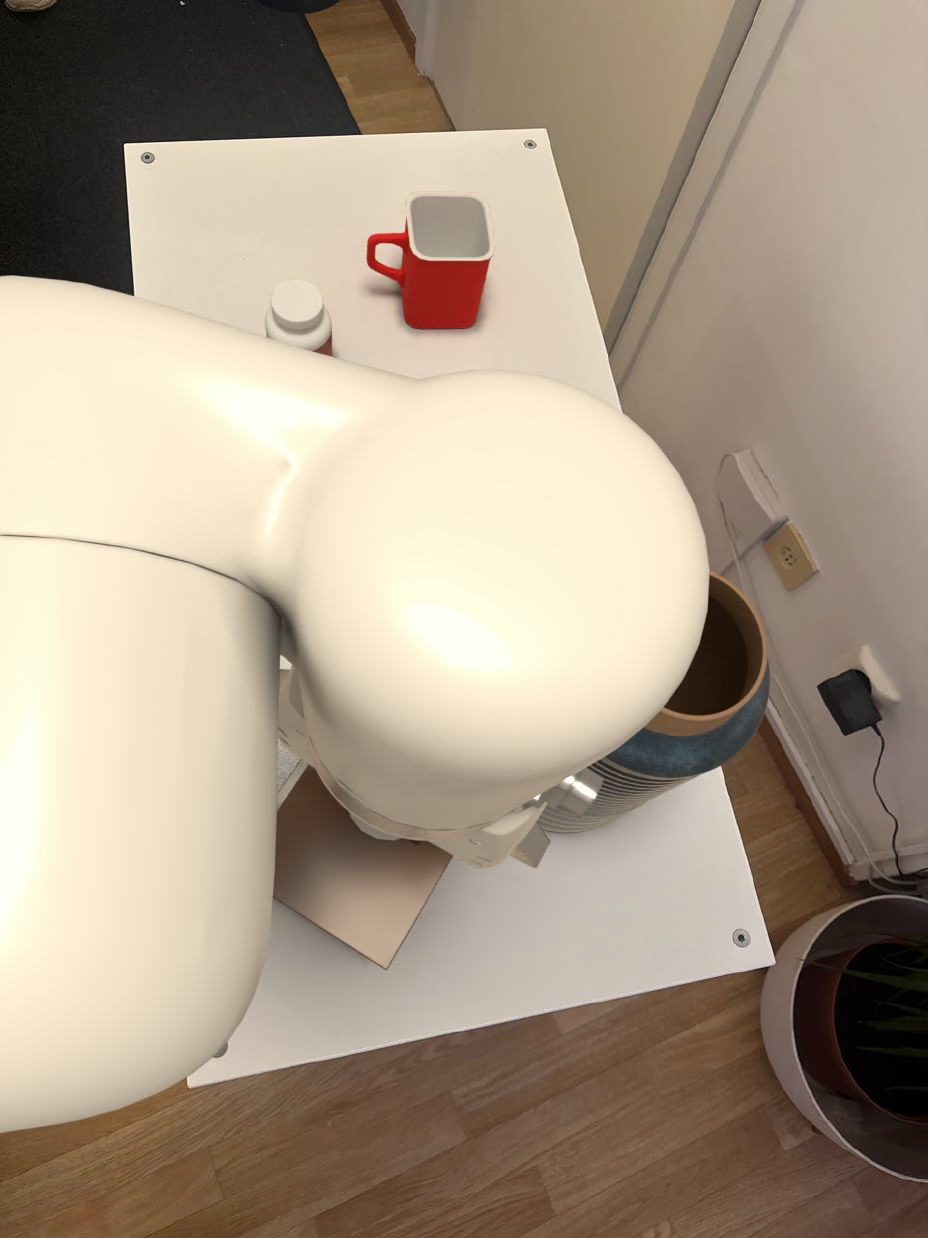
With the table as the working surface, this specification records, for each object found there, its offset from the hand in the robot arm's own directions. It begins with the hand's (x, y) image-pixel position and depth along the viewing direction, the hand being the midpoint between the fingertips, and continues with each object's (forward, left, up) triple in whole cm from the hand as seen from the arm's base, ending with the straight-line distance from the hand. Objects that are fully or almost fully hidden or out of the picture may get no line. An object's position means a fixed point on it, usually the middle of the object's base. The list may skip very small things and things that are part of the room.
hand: (392, 790), depth 43 cm
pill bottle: (-31, +36, -35) cm, 59 cm away
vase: (+10, +17, -35) cm, 40 cm away
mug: (-26, +51, -35) cm, 67 cm away
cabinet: (-1, 0, -35) cm, 35 cm away
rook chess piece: (0, 0, -3) cm, 3 cm away
